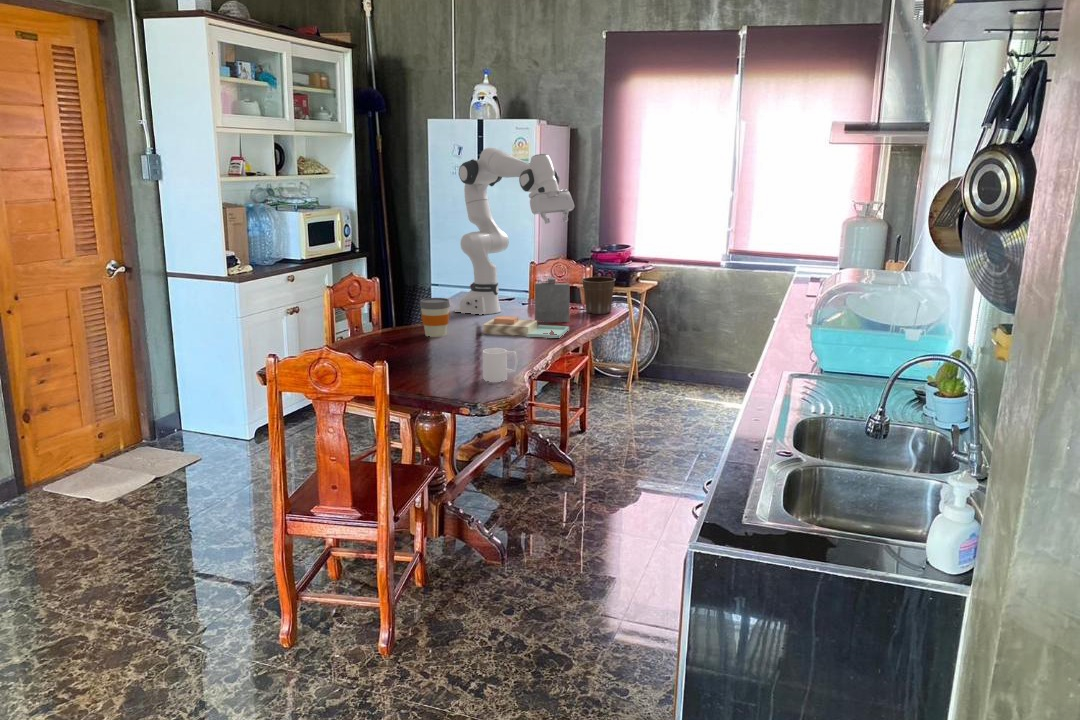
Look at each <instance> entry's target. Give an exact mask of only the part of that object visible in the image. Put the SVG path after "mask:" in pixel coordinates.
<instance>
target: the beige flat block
mask: <svg viewBox="0 0 1080 720" xmlns="http://www.w3.org/2000/svg"><path fill="white" fill-rule="evenodd" d="M494 318H495V317H494ZM494 318H493V317H492V319H490V320H489V321H487V322H485V323H484V324H483V325H482V326H483V327H482V328H483V335H484V334H486V335H499V336H514V335H524V336H523V337H527V333H532V332H533V331H535V330H536V329H537V328H538V322H537V320H535V319H534V320H533V319H518V322H517V323H515V324H500V323H494Z"/></svg>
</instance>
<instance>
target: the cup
mask: <svg viewBox="0 0 1080 720" xmlns="http://www.w3.org/2000/svg"><path fill="white" fill-rule="evenodd" d="M509 354H510V355H511V354H513V355H514V356H513V357H514V361H515V363H514V366H513V367H514V368H513V369H511V368H508V355H509ZM518 362H519V361H518V354H517V352H516V351H514V350H507V349H505V348H502V347H501V348H500V347H489V348H485V349H483V350H482V377H483V378H482V379H484V380H485V381H484V380H483V381H484V382H487V381H489V382H488V383H501V381H503V382H505V380H506V381H507V380H508V373H511V374H512V373H515V372H516V371H517V370H518V369H517V367H518V364H519V363H518Z"/></svg>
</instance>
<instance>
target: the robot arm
mask: <svg viewBox="0 0 1080 720" xmlns="http://www.w3.org/2000/svg"><path fill="white" fill-rule="evenodd" d="M479 155H480V156H479V158H478V159H473V158H472V159H470V160H467V161H464V162H463V163H461V165H460V166H459V169H458V176H459V179H460V181H461V182H462V183H463V184H464V185H463V186H464V201H465V206H466V212H467V218H468V220H469V222H470V224H471V223H472V224H473V225H475V226H476V227H477V228H478V231H470V232H468V233H465V234H464V235H462V236H461V239H460V243H459V244H460V248H461V251H462V252H463V253H464V254H465V255H466V256H468V258H469V260H470V261H471V264H472V267H473V281H474V282H472V283H470V285H469V288H470V290H469V291H468V292H467V293H466V294H465V295H463V296H462V297H461V298H460V300H459V303H458V305H459V306H458V307H456V308H455V309H454V313H455V312H461V313H460V314H465V313H471V314H470V315H475V314H479V315H478V316H482V314H484V315H491V314H492V315H493V314H498V313H500V312H502V308H501V305H500V302H499V301H500V300H499V282H498V267H497V266H496V264H495V263H494V262H492V261H490V259H489V254H498V253H500V252H503V251H505V250H507V249H508V247H509V236H508V235H507V233H506V232H505V231H504V230H502V229H501V228H500V227H499V225H498V224H497V223H496V222H495V219H494V217H493V214H492V210H491V205H490V201H489V197H488V191H487V190H488V189H487V188H488V187H489V186H490V187H494V186H495V184H498V183H499V182H500V181H501V180H502V179H503V178H504V179H505V178H519V179H518V180H519V185H520V188H521V189H522V190H523V191H524V192H527V193H529V194H528V197H529V205H530V206H529V207H530V211H531V213H532V214H533V215H540V217H541V219H542V220H543V221H544V223H545V225H546V224H550V223H551V220H550V218H549V217H547V216H546V215H547V214H554V213H555V214H556V213H563V215H564V216H563V217H562V221H563V222H565V223H566V222H568V221H569V217H568V216H569V213H570V212H572V211H573V210H574V208H575V203H574V200H573V198H572V195H571V193H570V191H569V190H567V189H560V188H559V187H560V186H559V185H560V176H559V173H558V171H556V169H555V168H554V165H553V164H554V163H553V161H552V160H551V157H550V156H549V155H548V154H545V153H539V154H535V155H533V156H531V157H530V161H529V162H527V161H524V160H523V159H521V158H518V157H516V156H514V155H511V154H509V153H508V152H505V151H503V150H501V149H499V148H496V147H495V148H494V147H487V148H484V149H483V150H482V151H481V152H480V154H479Z"/></svg>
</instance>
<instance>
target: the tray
mask: <svg viewBox="0 0 1080 720" xmlns="http://www.w3.org/2000/svg"><path fill="white" fill-rule="evenodd" d="M551 330H552V331H553V332H554V334H557V335H550V334H549V333H550V332H551ZM567 331H568V332H569V331H570V326H564V325H562V326H561V325H549V324H548V325H547V324H546V325H545V324H537V329H536V330H535V331H533V332H532V333H527V336H526V338H530V337H546V338H545V339H547V337H548V338H560V337H561V336H562V335H563V336H565V335H564V334H565V333H566V332H567ZM568 332H567V333H568ZM543 333H548V334H543ZM567 333H566V334H567ZM563 336H562V337H563ZM562 337H561V338H562ZM561 338H560V339H561Z"/></svg>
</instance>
